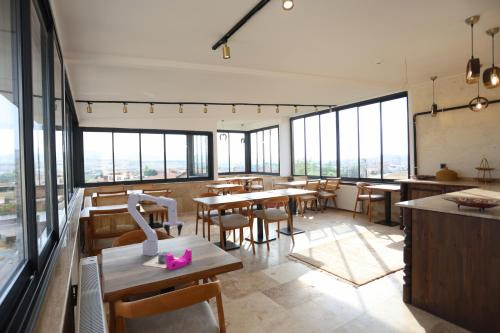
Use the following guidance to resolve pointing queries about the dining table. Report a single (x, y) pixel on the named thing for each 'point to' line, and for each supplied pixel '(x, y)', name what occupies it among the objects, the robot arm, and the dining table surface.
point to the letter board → (156, 263)
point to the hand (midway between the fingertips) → (174, 235)
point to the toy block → (178, 260)
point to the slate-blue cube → (162, 257)
